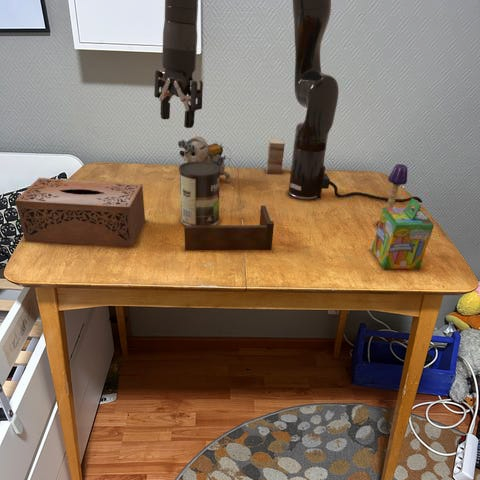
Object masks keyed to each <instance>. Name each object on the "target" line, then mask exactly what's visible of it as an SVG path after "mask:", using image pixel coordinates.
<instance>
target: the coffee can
mask: <svg viewBox="0 0 480 480" xmlns="http://www.w3.org/2000/svg"><path fill="white" fill-rule="evenodd" d="M178 172H179V198H180V199H179V201H180V202H179V203H180V222H181V223H182V225H219V222H220V179H221V177H220V167H219V166H218V165H216V164H213V163H209V162H202V161H195V162H187V161H186V162H184V163H182V164H180V165H179V166H178Z"/></svg>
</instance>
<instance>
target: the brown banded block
mask: <svg viewBox="0 0 480 480" xmlns="http://www.w3.org/2000/svg"><path fill="white" fill-rule="evenodd" d="M285 143H286V142H285V140H284V139H279V138H269V139H268V145H267V154H266V156H267V158H266V163H265V164H266V166H265V172H266V174H276V175H281V174H282V170H283V169H282V168H283V162H284V161H283V159H284V155H285V154H284V153H285V145H286V144H285Z"/></svg>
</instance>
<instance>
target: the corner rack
mask: <svg viewBox="0 0 480 480" xmlns="http://www.w3.org/2000/svg"><path fill="white" fill-rule="evenodd" d="M183 225H184V224H183ZM183 228H184V229H183V230H184V251H186V252H187V251H188V252H189V251H192V252H193V251H195V252H196V251H272V248H273V241H274V240H273V239H274V228H275V223H274V220H271V218H270V215H269V211H268V208H267V205H264V204H263V205H260V213H259V224H249V225H248V224H243V225H242V224H241V225H240V224H234V225H233V224H228V225H227V224H222V225H221V224H216V225H184V227H183Z"/></svg>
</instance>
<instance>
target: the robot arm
mask: <svg viewBox="0 0 480 480" xmlns="http://www.w3.org/2000/svg"><path fill="white" fill-rule="evenodd" d="M291 4H292V5H291V6H292V15H293V16H292V17H293V30H294V31H293V32H294V33H293V34H294V36H293V37H294V50H295V55H294V56H295V57H294V59H295V61H294V95H295V96H294V97H295V99H296V101H297V103H298V104H299V105H300V106H301V107H303V108H306V113H305V119H304V121H300V122H299V123H297V124H296V126H295V130H294V131H295V133H294V140H293V141H294V142H293V151H292V159H291V168H290V178H289V185H288V191H287V194H288V196H289V197H291V198H293V199H296V200H299V201H313V200H316V199H317V200H318V199H321V198H322V191H323V190H329V188H330V186H331V187H332V188H333V193H334V196H335V197H337V198H349V197H352V196H359V197H365V198H368V199H372V200H377V201H382V202H383V201H384V202H388V200H389V198H390V197H385V196H379V195H373V194H370V193H366V192H361V191H360V192H359V191H352V192H348V193H345V194H340V193H339V192H338V186H337V185H336V184H335V183H334V182H332V181H331V179H330V177H329V175H328V174H327V173H326V165H325V157H326V151H327V144H328V139H329V133H330V131H331V129H332V127H333V124H334V120H335V115H336V111H337V106H338V102H339V101H338V100H339V94H340V93H339V92H340V91H339V89H340V88H339V84H338V81H337V80H336V78H335V77H333V76H332V75H330V74H327V73H323V72H322V66H321V65H322V64H321V49H322V48H321V47H322V42H323V38H324V36H325V33H326V31H327V28H328V24H329V22H330V17H331V13H332V0H291ZM198 13H199V0H164V21H163V28H162V29H163V30H162V54H161V55H162V57H161V59H162V61H161V66H162V68H163V69H156V70H155V75H154V90H153V91H154V93H153V95H154V98H157V99H158V101H159V102H160V119H161V120H169V119H170V118H171V116H170V115H171V102H170V101H171V99H172V98H173V96H175V97H178V98H179V100H180V102H182V103H183V106H184V109H185V110H184V121H183V122H184V124H183V126H184V128H185V129H192V128H194V124H195V116H196V115H195V113H196V111H199V110H202V109H203V94H204V93H203V92H204V91H203V87H204V82H203V81H202V80H194V78H193V74H194V72H195V71H196V69H197V68H196V67H197V53H198V51H197V50H198V17H199V16H198V15H199V14H198ZM412 198H413V199H414V200H415V201H416V202H417V203H419V204H422V203H423V200H422V198H421V197H418V196H410V197H407V198H395V203H406V202H410V200H411V199H412Z"/></svg>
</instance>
